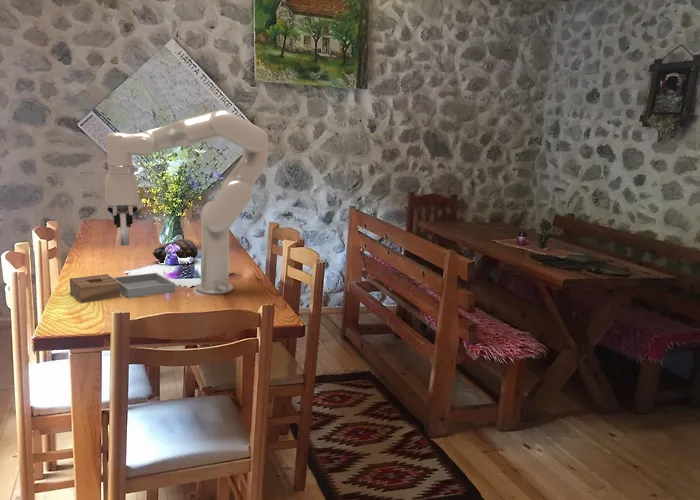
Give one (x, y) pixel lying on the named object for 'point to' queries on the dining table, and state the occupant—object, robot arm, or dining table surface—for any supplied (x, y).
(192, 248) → the pine cone
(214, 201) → the robot arm
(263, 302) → the dining table surface
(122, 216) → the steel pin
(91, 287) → the walnut block
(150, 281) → the grey tray
